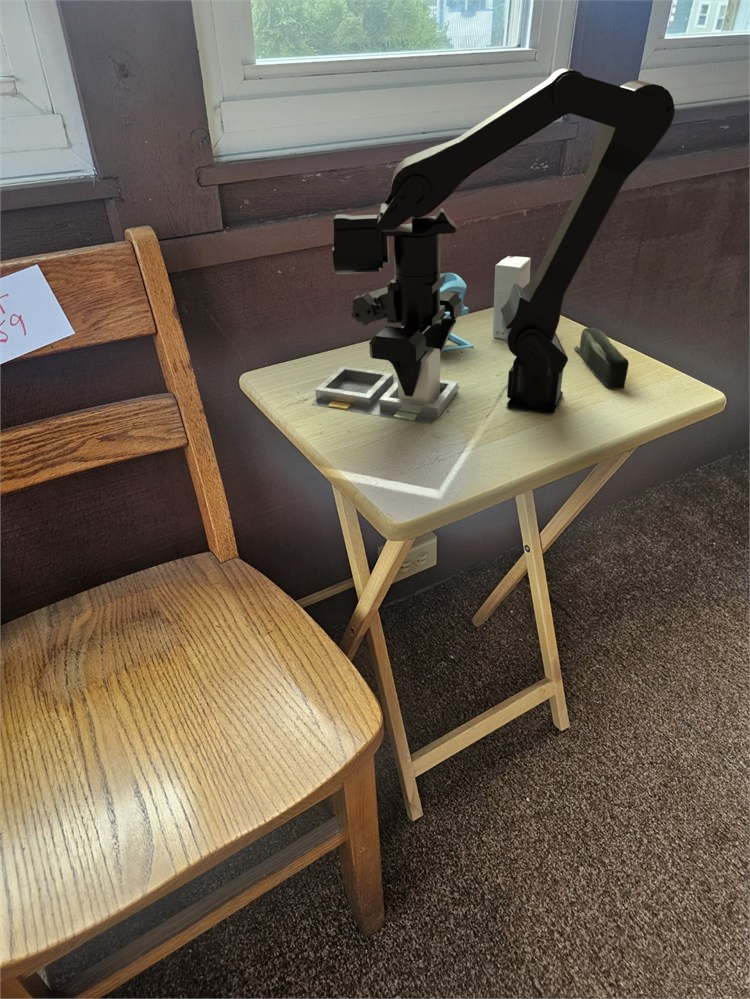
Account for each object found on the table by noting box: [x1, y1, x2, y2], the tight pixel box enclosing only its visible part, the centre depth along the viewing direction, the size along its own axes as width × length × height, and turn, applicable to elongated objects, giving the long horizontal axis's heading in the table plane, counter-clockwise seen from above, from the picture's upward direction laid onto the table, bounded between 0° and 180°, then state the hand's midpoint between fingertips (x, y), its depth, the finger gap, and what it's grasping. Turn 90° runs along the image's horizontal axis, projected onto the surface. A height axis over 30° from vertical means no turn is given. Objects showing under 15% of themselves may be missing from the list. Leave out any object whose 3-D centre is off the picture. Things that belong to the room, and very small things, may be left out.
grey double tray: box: [311, 365, 461, 425], centre depth 96 cm, size 18×12×2 cm, turn 66°
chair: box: [440, 272, 474, 352], centre depth 107 cm, size 8×8×12 cm
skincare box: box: [492, 255, 532, 340], centre depth 111 cm, size 6×4×12 cm
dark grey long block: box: [573, 327, 629, 390], centre depth 100 cm, size 5×3×15 cm
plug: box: [396, 347, 441, 404], centre depth 92 cm, size 5×4×7 cm
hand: (419, 383), depth 93 cm, fingers open, 7 cm apart
